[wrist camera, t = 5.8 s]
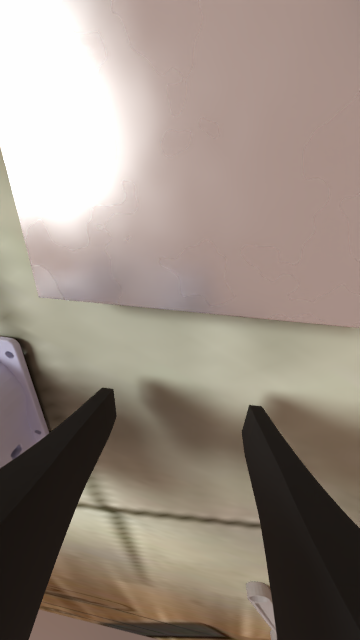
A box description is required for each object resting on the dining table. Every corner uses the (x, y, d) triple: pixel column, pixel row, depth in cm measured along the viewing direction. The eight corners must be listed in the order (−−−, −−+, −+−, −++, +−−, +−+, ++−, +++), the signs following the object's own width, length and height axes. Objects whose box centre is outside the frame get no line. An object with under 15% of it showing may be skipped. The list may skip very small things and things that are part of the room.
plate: (313, 300, 10) (358, 327, 7) (81, 280, 10) (38, 297, 8) (437, -36, 5) (678, -310, 3) (35, -29, 6) (-95, -235, 3)
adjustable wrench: (241, 574, 25) (244, 597, 23) (295, 575, 23) (302, 601, 22) (272, 633, 33) (275, 653, 32) (312, 637, 32) (318, 658, 30)
